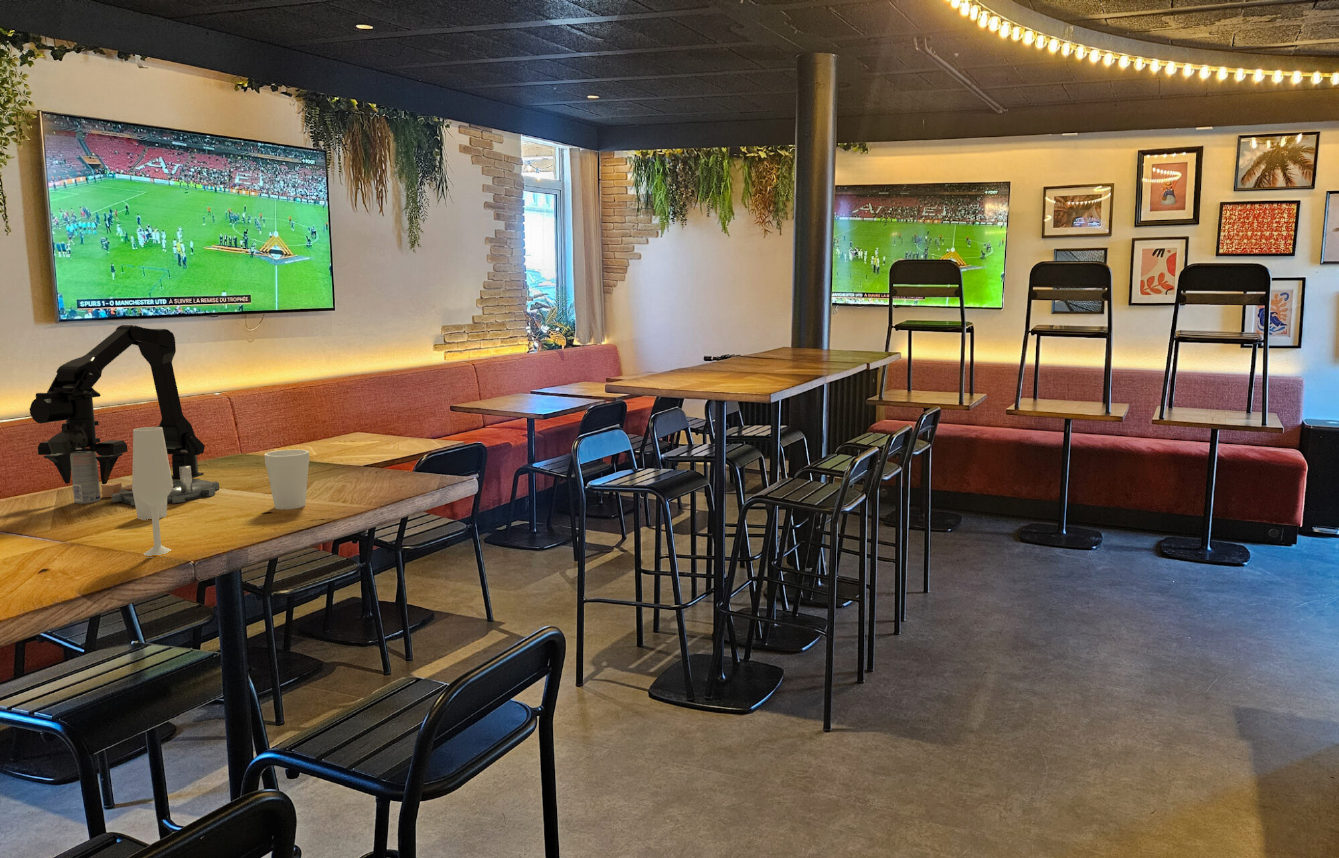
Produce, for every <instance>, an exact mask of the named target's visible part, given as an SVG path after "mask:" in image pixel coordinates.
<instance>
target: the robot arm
mask: <svg viewBox="0 0 1339 858" xmlns="http://www.w3.org/2000/svg"><path fill="white" fill-rule="evenodd" d="M175 338H176V337H175V334H174V332H172V331H170V330H169V329H166V328H147V327H142V326H140V325H139V326H138V325H136V324H121V325H119V326H117V327H116V329H115V330H114V331H113V332H112V333H110V334H109V335H108V336H107V337H105V339H103V340H102V341H101V342H100V343H98V344H97V345H96V346H95V347H94V348H92V349H91V350H89V351H88V352H87V353H86V354H85V355H82V356H80V357H78V358H77V357H76V358H73V359H72V360H69V361H66V362H65V363H64V364H61V365H60V366H59V367H58V368H57V370H56V375H55V377H54V379H53V380H52V382H51V385H50V386H49V388H48V390H47V391H46V392H36V393H35V398H34V399H33V400H32V401H31V404H30V407H29V414H30V416H31V418H32V419H33V421H34V422H36V423H38V424H48V423H49V424H50V423H55V422H61V421H65V423H62V424H61V431H60V432H59V433H57V434H55V435H54V436H52V437H51V438H50V439H48V440H47V441H41V442H39V444H38V446H37V448H36V449H37V455H39V456H43V458H44V459H47V460H48V461H51V462H52V464H54V466H55V467H56V469H57V470H58V472H59V474H60V476H61V479H62V480H63V482H64V484H65V485H68V484H70V483H71V480H72V473H71V462H70V455H71V453H72V452H74V451H88V452H96V454H97V457H96V459H97V463H99V471H100V472H99V473H100V480H101V481H100V482H101V485H104V484H107V483H108V480H109V479H110V476H111V474H112V472H113V469H114V467H115V465H116V463H117V461H118V459H119V457H122V456H123V455H124V454H125V453H128V444H127V443H126V441H125V440H121V439H120V440H119V439H118V440H116V439H115V440H114V439H112V440H106V441H101V438H100V437H97V435H96V426H99V425H100V424H99V420H95V413H94V411H95V410H94V400H93V398H99V397H101V393H99V392H98V391H97V390H95V389H94V386H95V385H96V384H97V382H98V381H99V379H100V378H102V373H103V370H104V369H105V368H106V367H107V366H108V365H109V364H111V363H112V362H113V361H114V360H115V359H116V358H117V357H119V356H120V355H121V354H123V352H124V351H126V350H128V348H130V347H131V346H132V345H133V346H134V345H135V346H137V347H138V350H139V351H140V355H141V356H142V357H143V359H145V360H146V362H147V363H148V364H149V365H150V369H151V375H152V379H153V383H154V387H155V392H156V397H157V401H158V406H159V410H160V416H161V420H160V421H159V425H155V427H162V428H163V434H164V439H165V444H166V450H167V455H171V467H172V468H171V470H172V474H171V476H172V479H176V478H180V470H179V467H181V466H191V476H192V479H194V478H196V477H200V476H203V475H204V472H199V466H198V465H199V463H198V455H199V456H200V455H202V454H204V453H205V447H206V446H205V444H204V443H203V441H201V440H200V439H199V438H198V437H197V436H196V435H195V431H194V429H193V426H192V424H191V423H190V421H189V420H188V419H187V418H186V417H185V416H184V414H183V410H182V403H181V400H180V396H179V391H178V387H177V386H178V385H177V381H176V376H175V372H174V366H173V360H174V357H175V354H176V351H177V349H176V339H175ZM199 475H200V476H199ZM193 477H194V478H193Z"/></svg>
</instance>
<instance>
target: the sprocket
mask: <svg viewBox="0 0 1339 858" xmlns="http://www.w3.org/2000/svg"><path fill="white" fill-rule="evenodd" d="M179 470H180V479H172V482H173V488H172V491H171V492H170V494H169V495H168V496H167V504H177V503H178V504H179V503H185V502H189V501H193V499H194V500H198V499H202V498H205V497H212V496H214V495H216V490H220V482H218V481H209V480H205V479H200V478H192V476H191V466H181V467H179ZM118 492H119V493H114V494H111V497H112V498H111V502H113V503H120V502H121V503H122V504H127V505H130V506H135V501H134V496H133V491H132V484H128V485H125V486H122V488H118Z"/></svg>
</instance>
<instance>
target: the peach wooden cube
mask: <svg viewBox="0 0 1339 858" xmlns="http://www.w3.org/2000/svg"><path fill="white" fill-rule="evenodd" d="M122 487H123V486H122V482H107V483H106V484H101V487H100V488H101V495H102V497H111V494H114V493H119V492H118V488H122ZM102 497H101V498H102Z"/></svg>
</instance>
